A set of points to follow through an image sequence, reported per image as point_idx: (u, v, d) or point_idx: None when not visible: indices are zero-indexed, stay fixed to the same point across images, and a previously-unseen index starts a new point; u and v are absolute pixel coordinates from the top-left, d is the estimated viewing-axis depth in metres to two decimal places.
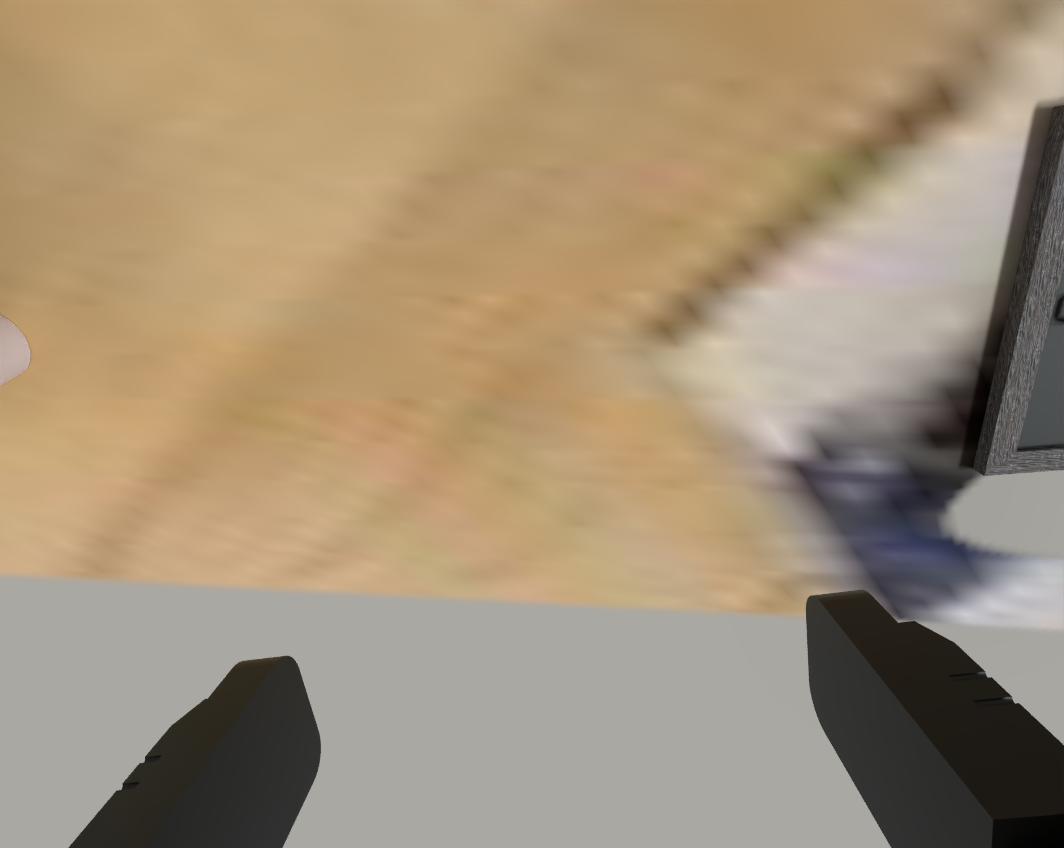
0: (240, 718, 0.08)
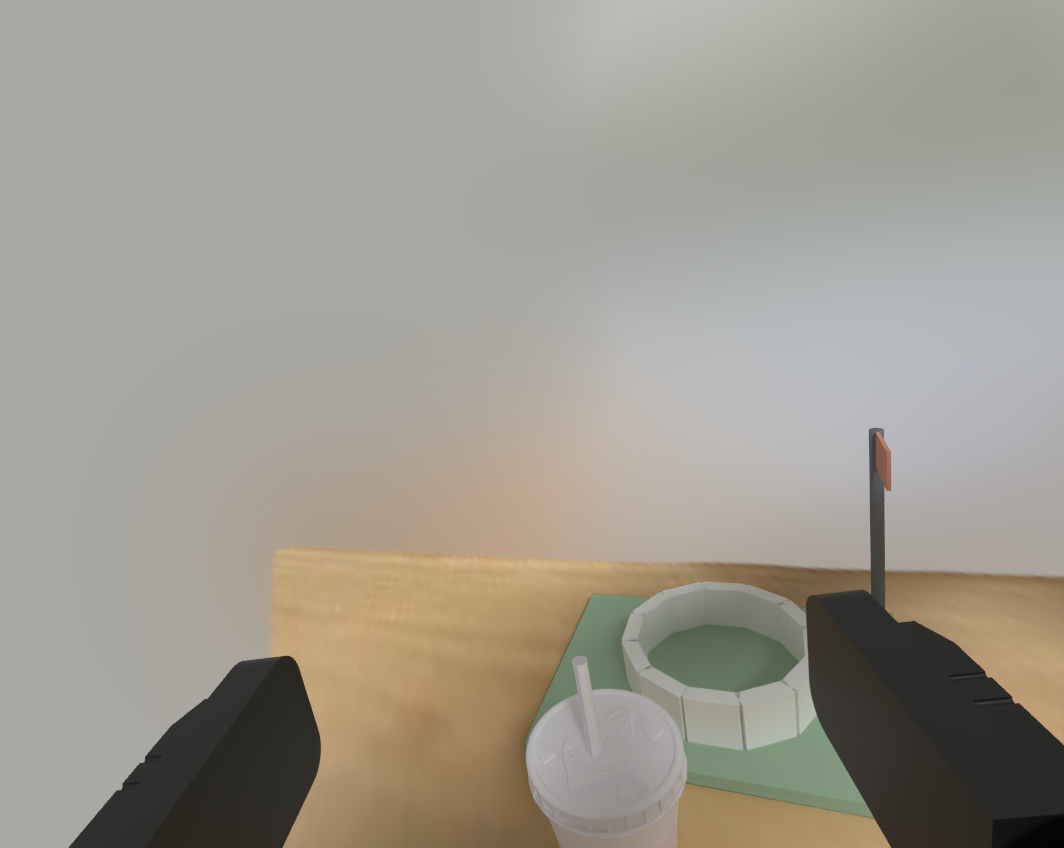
0: (240, 718, 0.08)
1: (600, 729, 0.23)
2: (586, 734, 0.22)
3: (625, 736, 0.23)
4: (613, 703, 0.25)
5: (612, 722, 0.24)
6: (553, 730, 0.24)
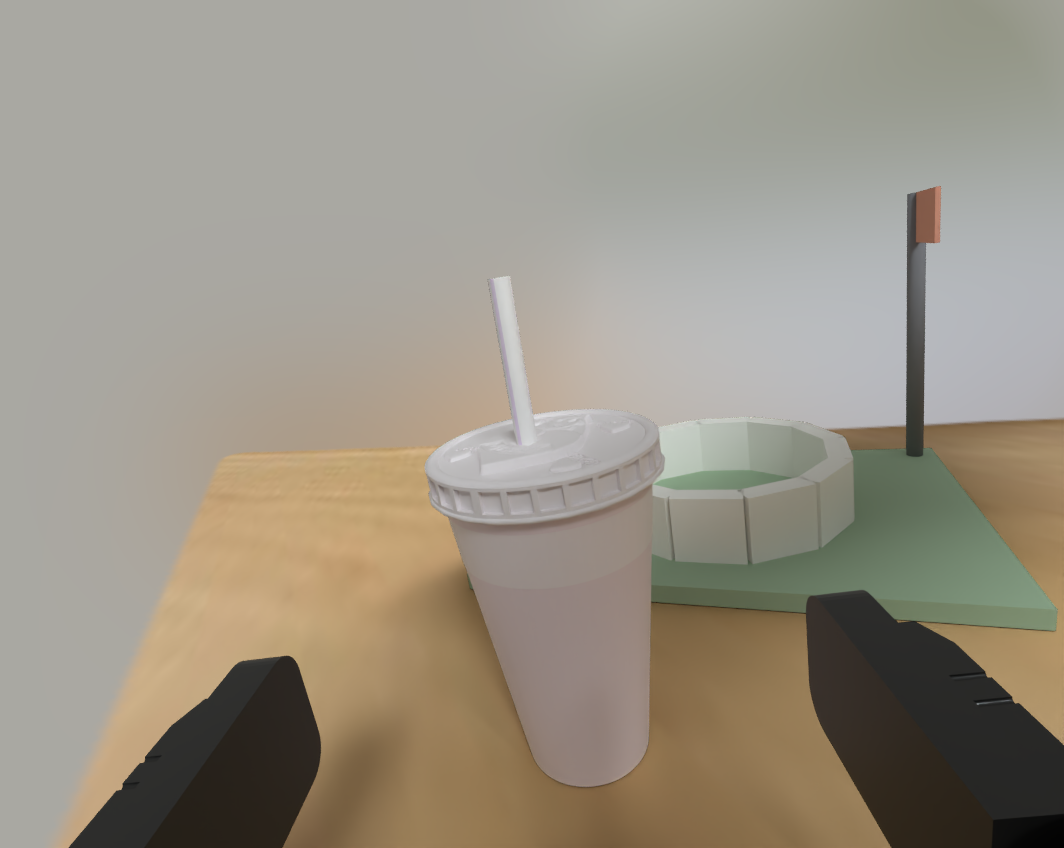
0: (240, 718, 0.08)
1: (539, 429, 0.16)
2: (512, 407, 0.14)
3: (574, 430, 0.15)
4: None
5: (557, 423, 0.16)
6: (473, 442, 0.16)
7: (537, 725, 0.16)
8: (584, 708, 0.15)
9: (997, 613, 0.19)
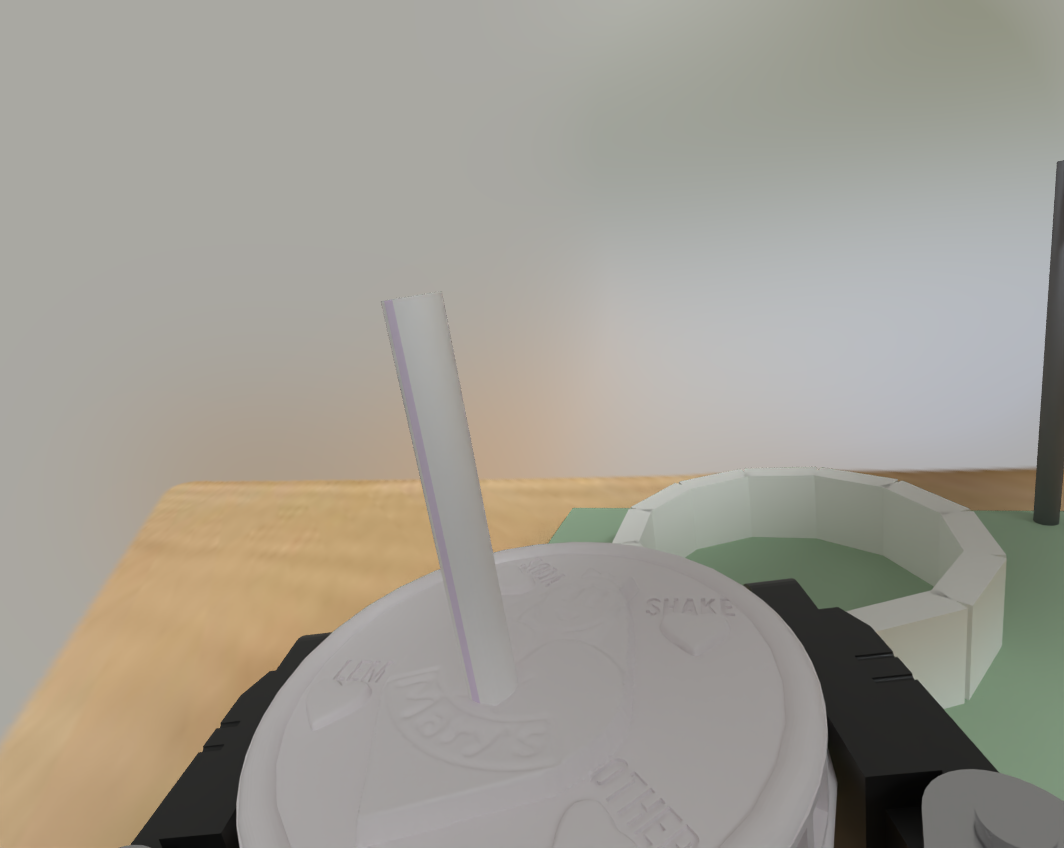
0: None
1: (524, 624, 0.07)
2: (454, 616, 0.06)
3: (604, 641, 0.07)
4: (575, 570, 0.09)
5: (565, 606, 0.07)
6: (387, 636, 0.08)
7: None
8: None
9: None
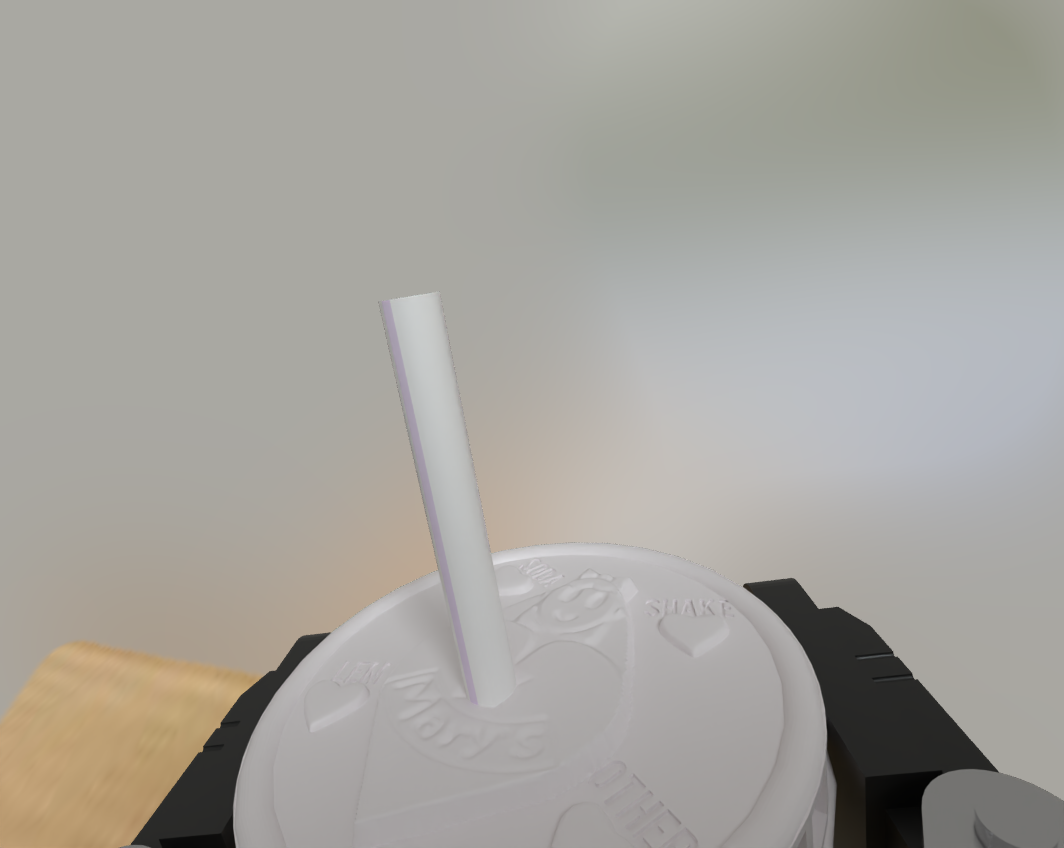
0: None
1: (522, 625, 0.07)
2: (452, 618, 0.06)
3: (602, 642, 0.07)
4: (573, 571, 0.09)
5: (563, 607, 0.07)
6: (385, 637, 0.08)
7: None
8: None
9: None
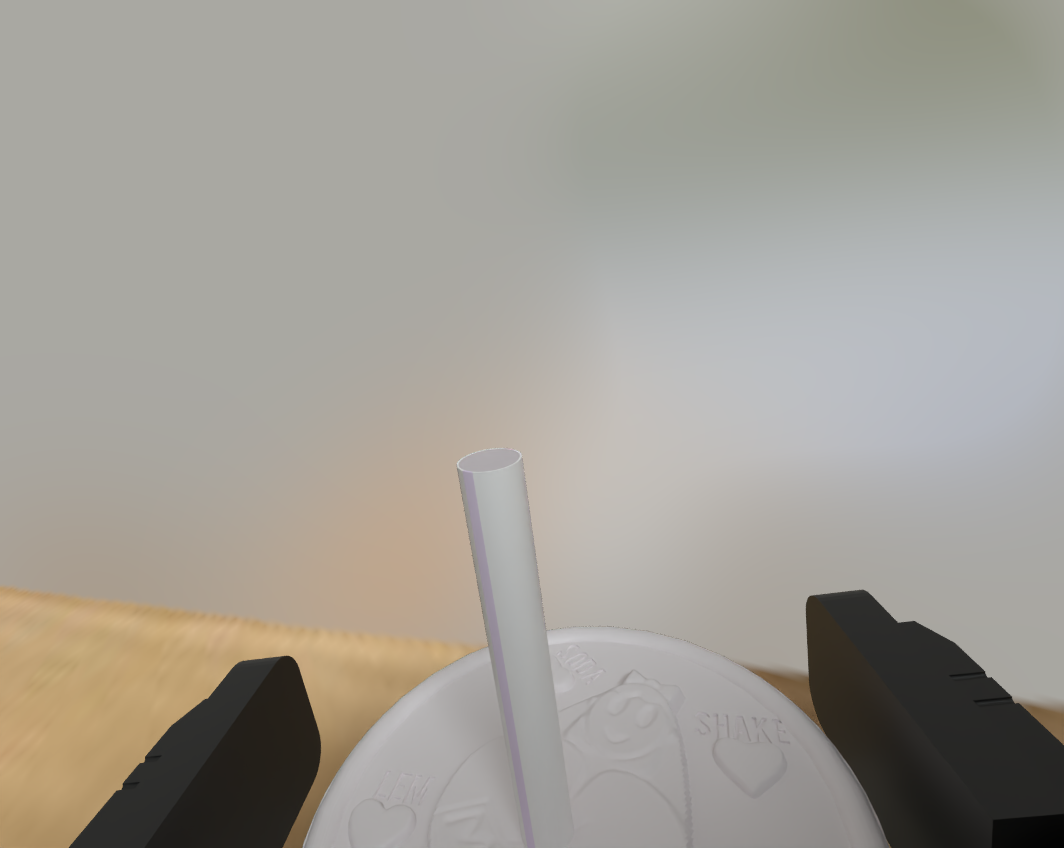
0: (240, 718, 0.08)
1: (572, 745, 0.07)
2: (514, 772, 0.06)
3: (658, 775, 0.06)
4: (615, 665, 0.09)
5: (612, 723, 0.07)
6: (425, 740, 0.08)
7: None
8: None
9: None
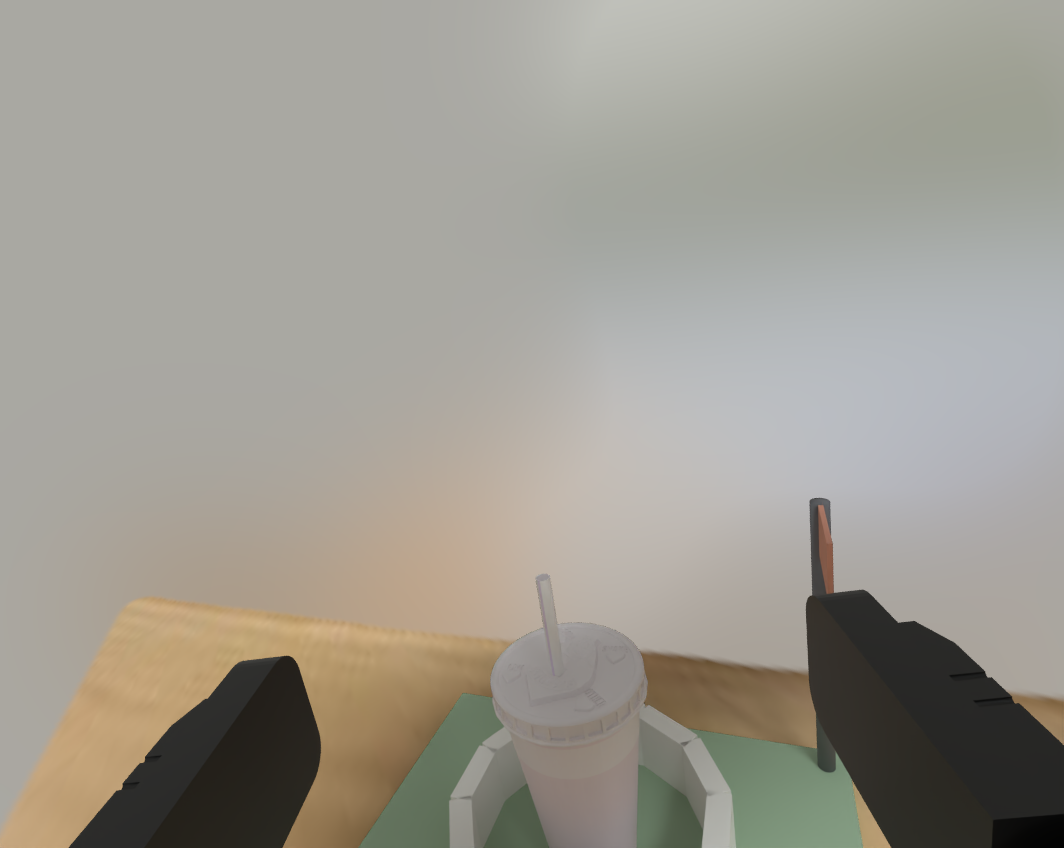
0: (240, 718, 0.08)
1: (564, 654, 0.24)
2: (549, 653, 0.22)
3: (588, 659, 0.23)
4: (579, 634, 0.25)
5: (577, 648, 0.24)
6: (519, 656, 0.24)
7: None
8: (593, 847, 0.23)
9: None
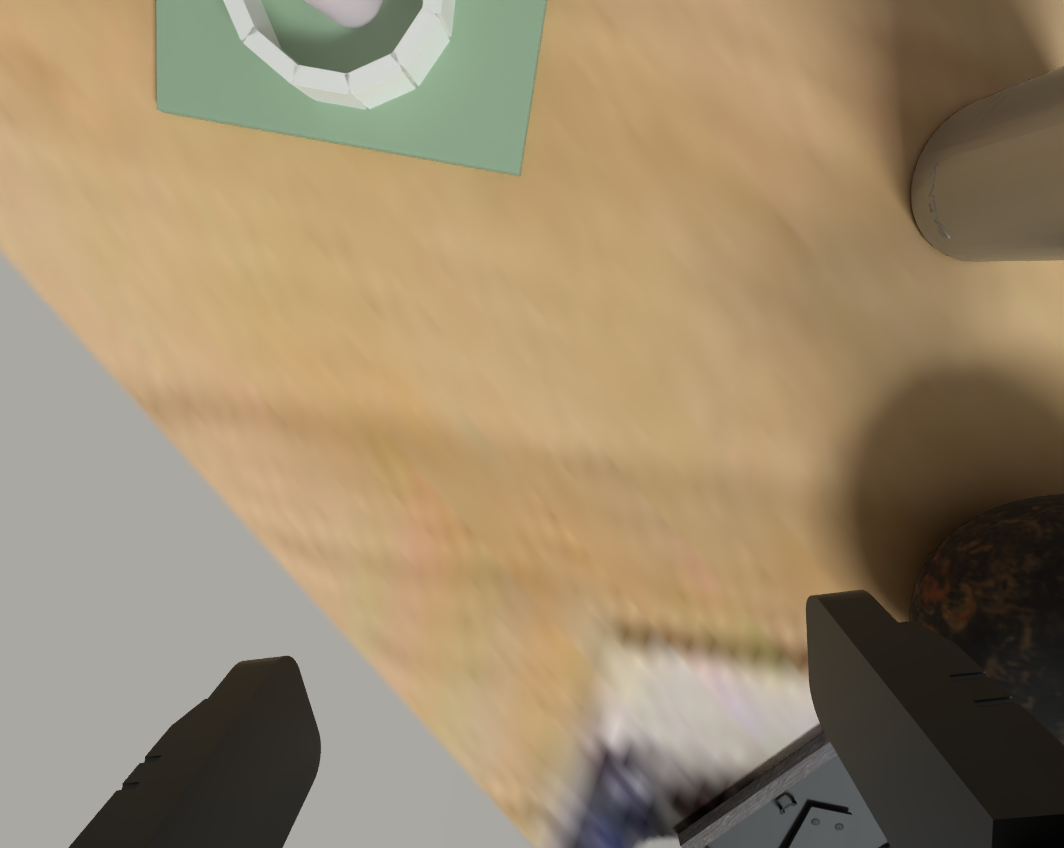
0: (240, 718, 0.08)
1: None
2: None
3: None
4: None
5: None
6: None
7: None
8: (344, 11, 0.30)
9: (494, 170, 0.34)
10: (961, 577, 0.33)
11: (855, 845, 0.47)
